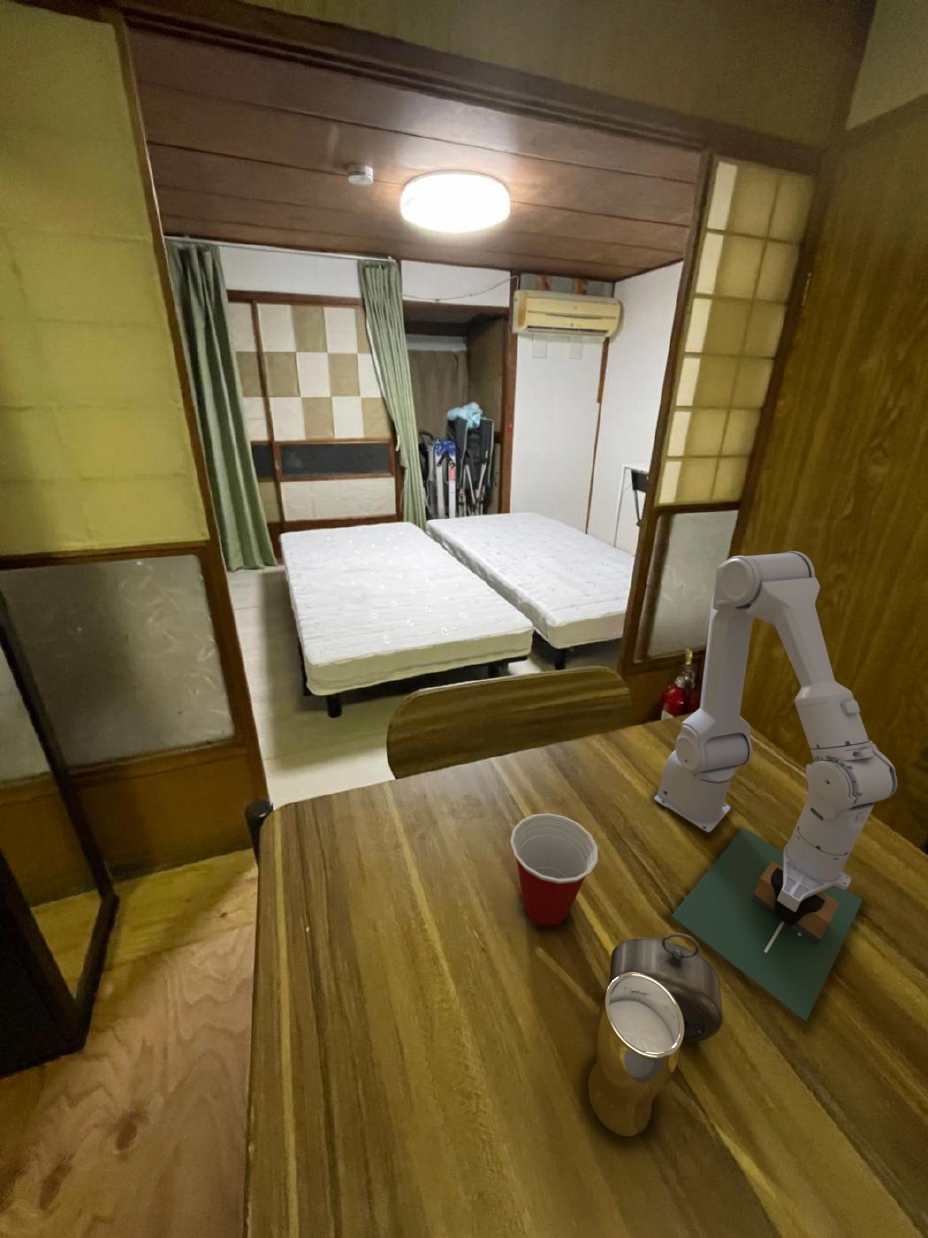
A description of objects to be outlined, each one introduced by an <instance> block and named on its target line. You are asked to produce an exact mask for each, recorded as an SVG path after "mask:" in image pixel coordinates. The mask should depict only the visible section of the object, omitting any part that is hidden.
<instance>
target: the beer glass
mask: <svg viewBox="0 0 928 1238" xmlns="http://www.w3.org/2000/svg"><path fill="white" fill-rule="evenodd" d="M683 1036H684V1020H683V1016H682V1013H681V1010H680V1007H679V1005H678V1003H677V1002H676V1000H675V998H674V997H673V995H672V994H671V993H670V992H669V991H668V990H667V988H666V987H664V986H663V985H662V984H661V983H660V982H658V981H657V980H655V979H654V978H652V977H650V976H647V975H645V974H641V973H634V972H631V973H625V974H622V975H620V976H618V977H616V978H615V979H614V980H613V981H612V982H611V984H610V985H609V984H608V987H607V988H606V993H605V996H604V997H603V1000H602V1003H601V1006H600V1008H599V1013H598V1016H597V1021H596V1027H595V1042H594V1043H595V1054H596V1055H595V1057H596V1063H595V1064H594V1065H593V1066H592V1068H591V1070H590V1073H589V1076H588V1080H587V1092H588V1098H589V1099H588V1100H589V1103H590V1106H591V1107H592V1110H593V1112H594V1114H595V1116H596V1118H597V1120H599V1121H600V1123H601V1124H602V1125H603V1126H604V1127H605V1128H606V1129H608V1130H609V1131H610V1132H612V1133H614V1134H615V1135H619V1136H622V1137H634V1136H637V1135H639V1134H640V1133H642V1132H643V1131H644V1130H645V1129H646V1127H648V1124H649V1122H650V1119H651V1117H652V1116H651V1114H652V1107H653V1105H652V1104H653V1100H654V1099H655V1098H656V1097H657V1096H658V1095H659V1094H660V1093H661V1092H662V1091H663V1090H664V1089H665V1087H666V1086H667V1085H668V1084H669V1082H670V1080H671V1078H672V1076H673V1074H674V1071H676V1067H677V1064H678V1061H679V1057H680V1052H681V1048H682V1044H683V1042H682V1040H683Z"/></svg>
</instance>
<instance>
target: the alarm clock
mask: <svg viewBox="0 0 928 1238" xmlns="http://www.w3.org/2000/svg"><path fill="white" fill-rule="evenodd" d="M676 937H677V938H683V939H687V940H689V941H690V942H692V943H693V944H694V946H695V950H693V949H691V948H689V947H687V946H685V945H683V944H680V943H677V942H674V941H671V940H668V939H671V938H676ZM699 952H700V945H699V943H698V941H697V940H696V939H695V938H694V937H692V936H691V935H688V934H686V933H681V932H672V933H667V934H666V935H664V937H662V938H657V937H648V936H647V937H646V936H645V937H640V936H639V937H633V938H632V937H631V938H629V939H626V940H623V941H621V942H620V943H619V944H617V945H616V946H615V947H614V949H613V950H612V952H611V955H610V968H609V969H610V971H609V980H608V981H609V982H608V986H609V985H610V984H611V982H612V981H613V980H614V979H615V978H616V977H618V976H620V975H622V974H625V973H631V972H634V973H641V974H645V975H647V976H650V977H652V978H654V979H655V980H657V981H658V982H660V983H661V984H662V985H663V986H664V987H666V988H667V990H668V991H669V992H670V993H671V994H672V995H673V997H674V998H675V1000H676V1002H677V1003H678V1005H679V1007H680V1010H681V1013H682V1016H683V1020H684V1036H683V1040H682V1043H698V1042H702V1041H705V1040H708V1039H710V1038H712V1037H713V1036H715V1035H716V1034H717V1033H718V1032H719V1030H720V1029H721V1027H722V1024H723V1017H724V1016H723V1015H724V1014H723V1005H722V993H721V992H722V991H721V980H720V977H719V974H718V973H717V970H716V969H715V968H714V967H713V966H712V964H711V963H710V962H709V961H708V960H707V959H706V958H705V957H703V956H702V955H700V954H699Z"/></svg>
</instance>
